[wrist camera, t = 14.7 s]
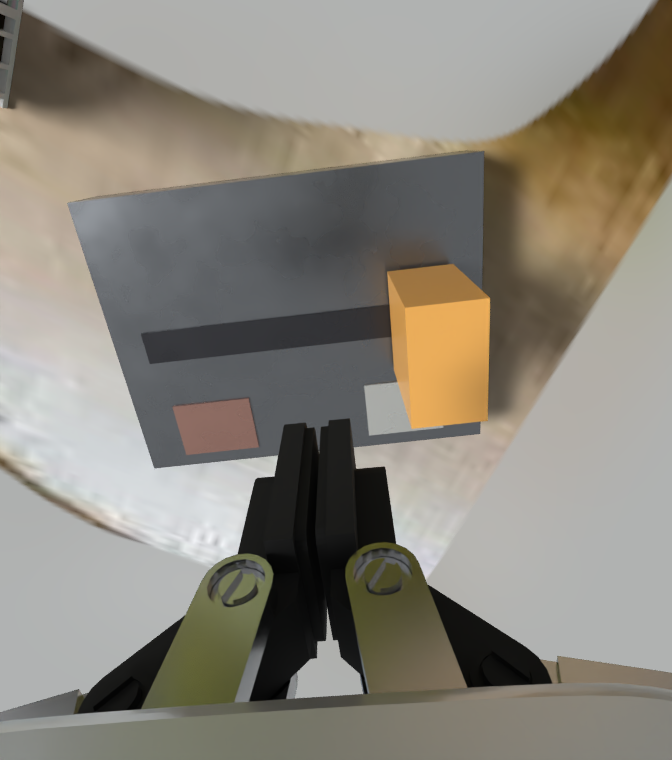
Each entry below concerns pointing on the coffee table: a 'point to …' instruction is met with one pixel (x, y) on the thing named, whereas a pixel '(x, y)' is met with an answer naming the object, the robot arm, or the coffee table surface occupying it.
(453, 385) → the block
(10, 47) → the circuit breaker
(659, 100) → the coffee table surface
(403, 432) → the panel
